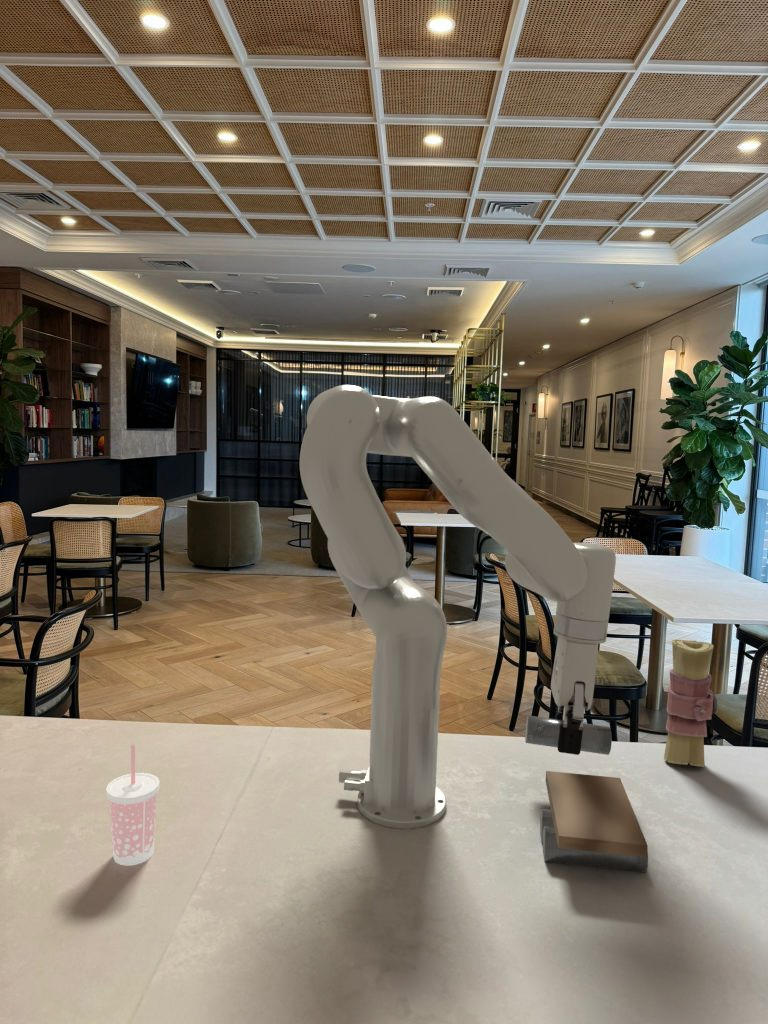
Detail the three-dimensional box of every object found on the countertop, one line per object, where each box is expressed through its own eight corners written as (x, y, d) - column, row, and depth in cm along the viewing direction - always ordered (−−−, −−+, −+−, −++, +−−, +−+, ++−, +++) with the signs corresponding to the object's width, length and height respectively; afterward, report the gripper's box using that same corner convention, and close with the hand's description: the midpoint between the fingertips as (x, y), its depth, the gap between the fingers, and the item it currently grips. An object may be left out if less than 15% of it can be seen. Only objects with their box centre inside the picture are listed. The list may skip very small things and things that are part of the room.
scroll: (718, 775, 109) (729, 653, 107) (668, 769, 111) (677, 649, 108) (705, 754, 116) (715, 639, 114) (659, 749, 118) (668, 635, 116)
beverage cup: (146, 834, 89) (145, 729, 87) (169, 855, 84) (168, 746, 83) (98, 853, 84) (96, 744, 83) (120, 876, 80) (118, 762, 78)
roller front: (544, 868, 85) (546, 838, 84) (542, 848, 88) (543, 819, 88) (646, 879, 83) (649, 849, 82) (639, 858, 87) (641, 829, 86)
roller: (526, 747, 102) (529, 722, 102) (524, 735, 106) (527, 711, 106) (609, 759, 101) (612, 734, 100) (604, 747, 105) (607, 722, 104)
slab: (558, 847, 81) (558, 835, 81) (545, 781, 97) (546, 770, 97) (646, 857, 80) (647, 845, 79) (619, 788, 95) (619, 777, 95)
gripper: (549, 611, 110) (536, 721, 112) (561, 638, 94) (546, 767, 96) (597, 617, 109) (583, 727, 111) (618, 645, 93) (601, 775, 95)
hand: (566, 744), depth 103 cm, fingers closed on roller, 4 cm apart
